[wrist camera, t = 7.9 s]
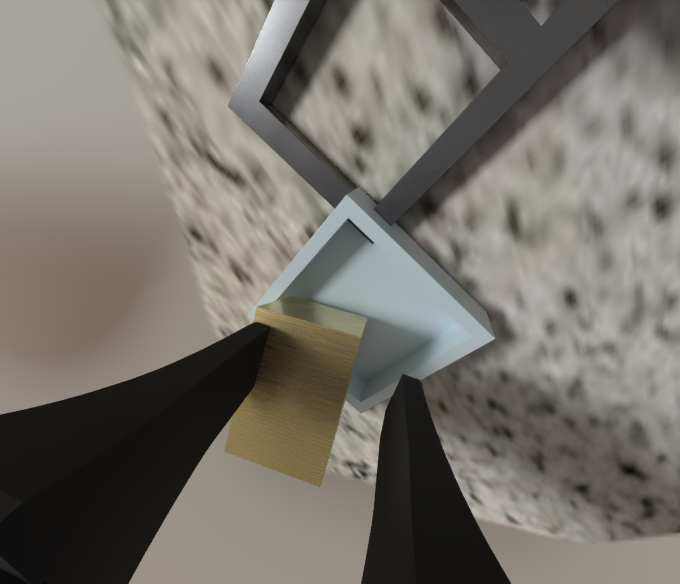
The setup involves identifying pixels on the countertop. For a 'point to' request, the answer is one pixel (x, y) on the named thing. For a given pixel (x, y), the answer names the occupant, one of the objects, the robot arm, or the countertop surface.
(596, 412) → the countertop surface
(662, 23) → the countertop surface
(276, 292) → the parts tray
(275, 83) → the rail
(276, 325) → the tan wooden post
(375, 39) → the countertop surface
